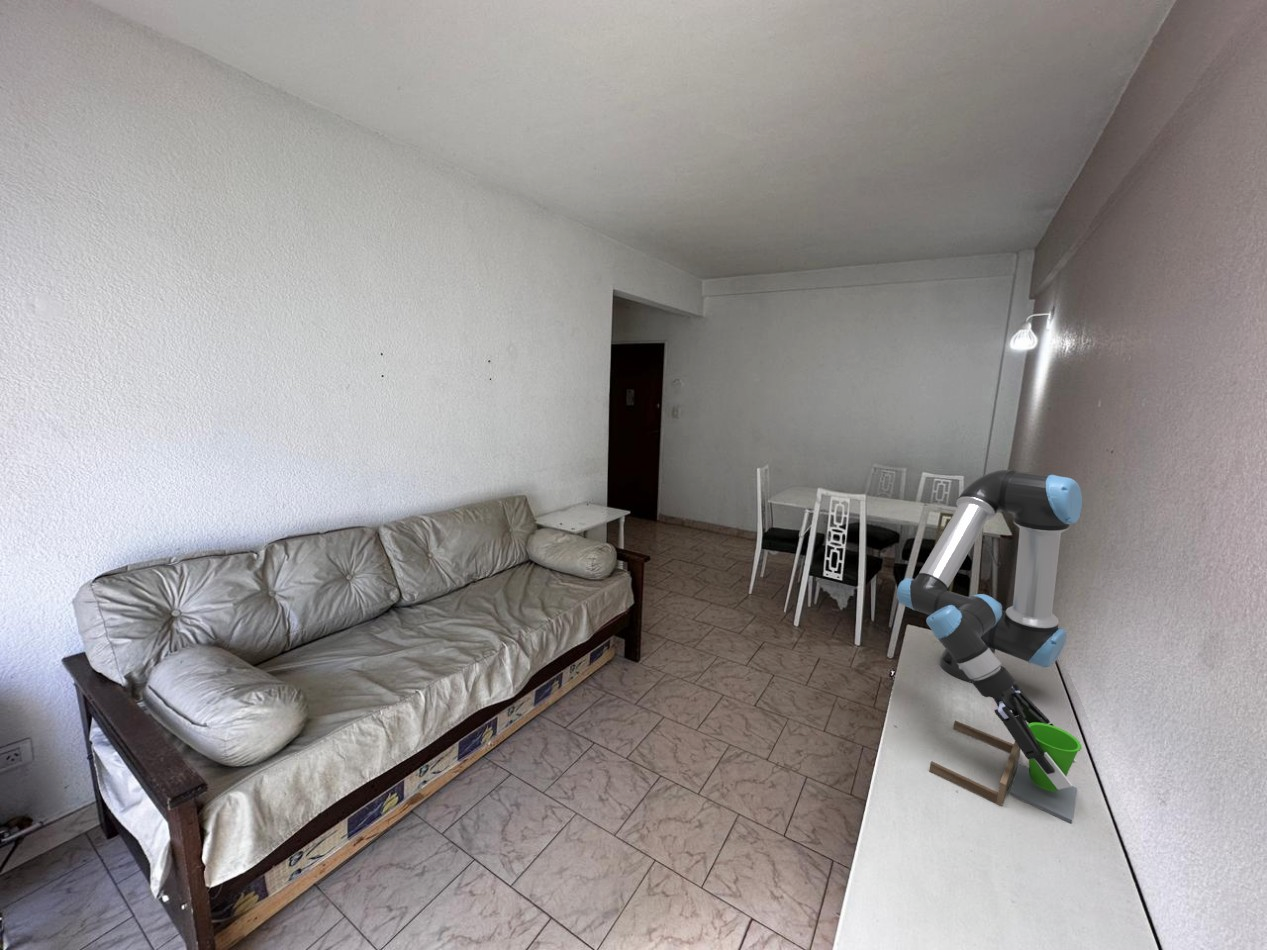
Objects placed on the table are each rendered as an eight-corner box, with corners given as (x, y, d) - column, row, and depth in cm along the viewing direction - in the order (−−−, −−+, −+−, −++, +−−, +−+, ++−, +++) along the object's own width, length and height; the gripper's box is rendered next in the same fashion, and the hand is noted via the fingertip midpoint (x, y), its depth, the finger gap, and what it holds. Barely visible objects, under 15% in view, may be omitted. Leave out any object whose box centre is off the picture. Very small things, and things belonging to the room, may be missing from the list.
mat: (1018, 766, 115) (1019, 763, 115) (1076, 791, 108) (1077, 788, 108) (1009, 794, 106) (1010, 791, 106) (1071, 823, 100) (1072, 820, 99)
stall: (954, 727, 128) (956, 709, 127) (1019, 754, 119) (1022, 735, 118) (929, 771, 113) (931, 751, 112) (1002, 806, 103) (1005, 785, 103)
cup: (1008, 773, 109) (1016, 727, 108) (1034, 762, 113) (1042, 718, 111) (1055, 804, 101) (1064, 755, 99) (1082, 792, 104) (1091, 744, 103)
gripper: (981, 662, 122) (1054, 754, 114) (959, 698, 107) (1042, 807, 99) (1011, 650, 118) (1090, 745, 109) (992, 685, 103) (1082, 799, 94)
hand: (1067, 774), depth 104 cm, fingers closed on cup, 9 cm apart
